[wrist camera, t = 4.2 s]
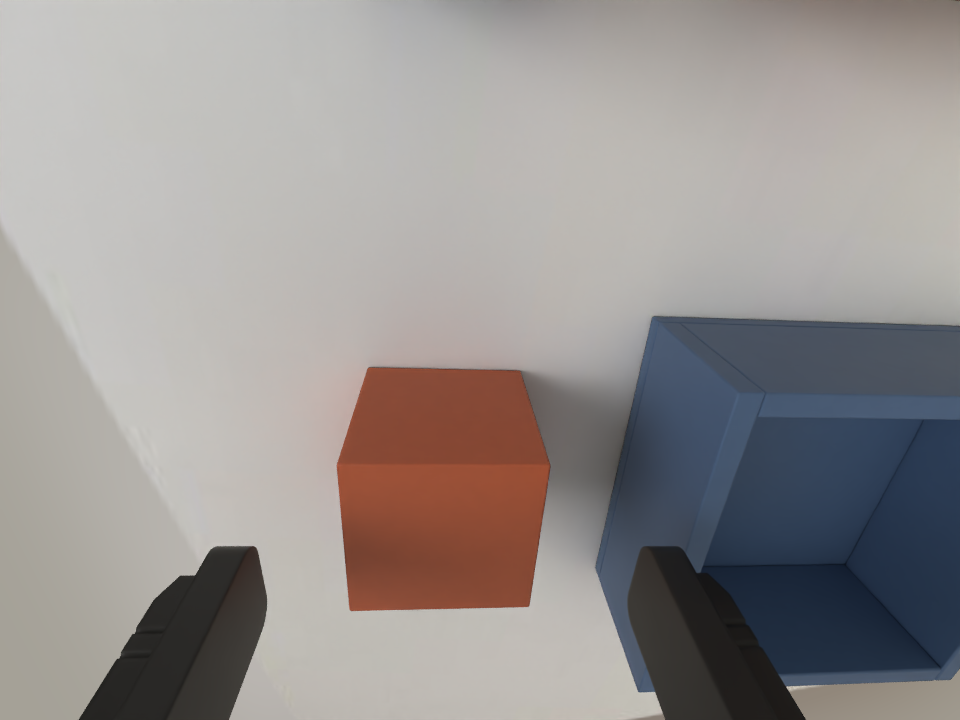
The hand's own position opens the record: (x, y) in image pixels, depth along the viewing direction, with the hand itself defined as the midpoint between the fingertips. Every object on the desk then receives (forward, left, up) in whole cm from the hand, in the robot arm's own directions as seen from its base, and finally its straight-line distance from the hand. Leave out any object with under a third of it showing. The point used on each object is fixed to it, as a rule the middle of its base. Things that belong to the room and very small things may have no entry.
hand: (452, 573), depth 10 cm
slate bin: (+11, -1, -5) cm, 12 cm away
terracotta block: (0, 0, -5) cm, 5 cm away
